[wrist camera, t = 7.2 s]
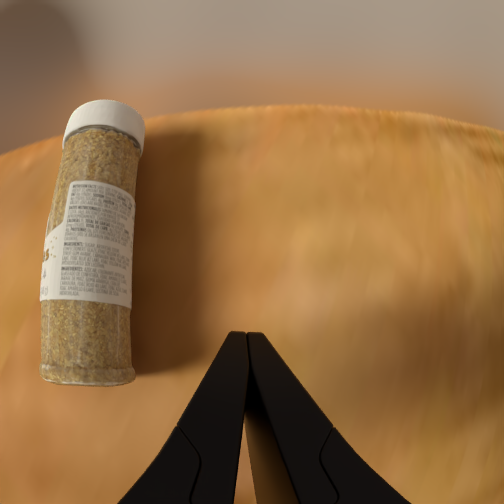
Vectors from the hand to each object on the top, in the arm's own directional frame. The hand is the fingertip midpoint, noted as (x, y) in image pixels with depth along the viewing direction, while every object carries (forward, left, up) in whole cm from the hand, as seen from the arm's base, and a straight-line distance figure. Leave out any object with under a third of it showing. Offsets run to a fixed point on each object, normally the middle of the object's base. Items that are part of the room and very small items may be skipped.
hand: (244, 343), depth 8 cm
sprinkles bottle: (-5, +4, -5) cm, 9 cm away
